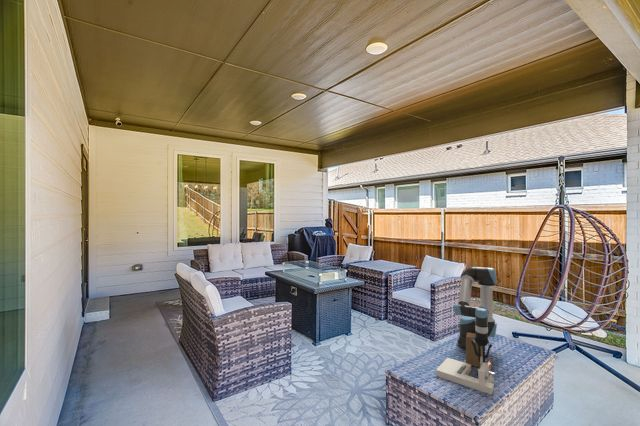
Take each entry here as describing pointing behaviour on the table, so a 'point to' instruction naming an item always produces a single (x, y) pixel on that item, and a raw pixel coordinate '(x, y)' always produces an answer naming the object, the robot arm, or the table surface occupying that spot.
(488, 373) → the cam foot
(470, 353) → the wooden block
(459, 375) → the stand
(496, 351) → the table surface
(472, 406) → the table surface
